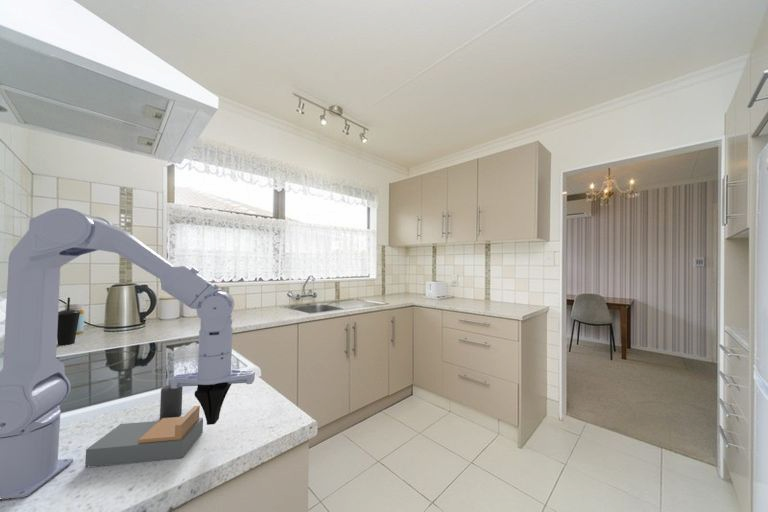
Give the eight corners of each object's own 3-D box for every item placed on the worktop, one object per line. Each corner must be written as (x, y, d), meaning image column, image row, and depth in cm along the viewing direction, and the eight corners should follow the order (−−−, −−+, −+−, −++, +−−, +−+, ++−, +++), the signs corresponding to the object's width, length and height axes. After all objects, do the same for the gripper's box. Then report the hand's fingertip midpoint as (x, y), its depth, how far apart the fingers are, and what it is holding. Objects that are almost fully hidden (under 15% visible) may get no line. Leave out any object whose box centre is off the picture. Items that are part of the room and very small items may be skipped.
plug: (155, 421, 62) (157, 385, 63) (166, 412, 66) (167, 378, 67) (175, 420, 63) (177, 384, 63) (184, 411, 67) (186, 377, 67)
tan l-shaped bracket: (138, 443, 50) (138, 428, 50) (162, 421, 57) (162, 408, 57) (180, 439, 51) (181, 424, 51) (199, 418, 58) (199, 405, 58)
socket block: (85, 467, 48) (86, 449, 48) (119, 439, 56) (120, 423, 56) (182, 457, 51) (183, 440, 51) (202, 432, 59) (203, 417, 59)
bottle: (84, 331, 144) (85, 302, 145) (81, 334, 139) (83, 303, 139) (63, 333, 140) (65, 303, 140) (60, 336, 134) (62, 304, 135)
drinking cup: (68, 341, 126) (70, 296, 126) (84, 341, 125) (86, 296, 126) (46, 346, 118) (49, 298, 119) (64, 346, 118) (67, 298, 119)
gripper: (259, 345, 61) (257, 408, 61) (185, 347, 59) (182, 414, 58) (249, 355, 54) (247, 427, 54) (165, 358, 52) (162, 434, 51)
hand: (212, 421), depth 55 cm, fingers closed
